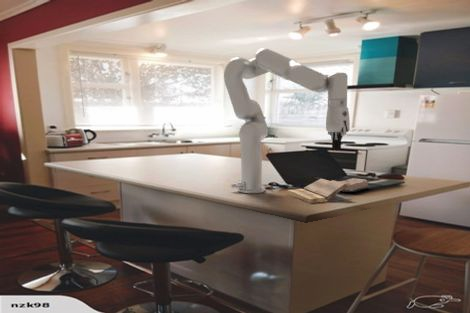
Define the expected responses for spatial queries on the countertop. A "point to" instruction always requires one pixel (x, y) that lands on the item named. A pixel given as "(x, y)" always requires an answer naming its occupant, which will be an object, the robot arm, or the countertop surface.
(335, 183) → the plank
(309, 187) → the plank
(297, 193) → the laid board
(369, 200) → the countertop surface
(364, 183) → the brick
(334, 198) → the underlay mat
